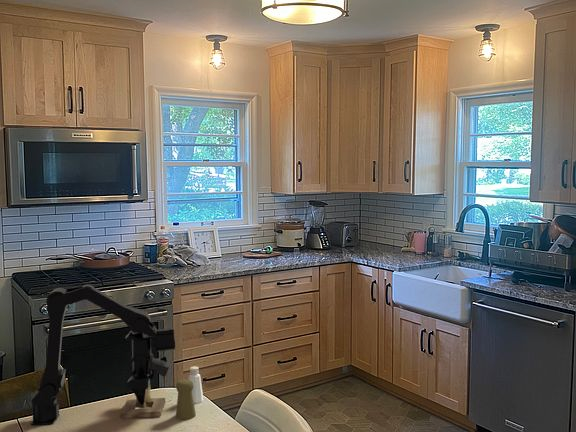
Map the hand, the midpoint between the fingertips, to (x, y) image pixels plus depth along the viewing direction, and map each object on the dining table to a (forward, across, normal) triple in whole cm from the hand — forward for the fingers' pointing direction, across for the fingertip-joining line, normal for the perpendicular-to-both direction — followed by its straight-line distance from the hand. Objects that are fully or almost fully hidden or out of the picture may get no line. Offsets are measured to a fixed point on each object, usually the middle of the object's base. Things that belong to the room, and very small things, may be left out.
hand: (143, 401), depth 180 cm
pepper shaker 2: (+3, +6, -16) cm, 17 cm away
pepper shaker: (+3, -6, -14) cm, 15 cm away
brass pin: (+1, 0, 0) cm, 1 cm away
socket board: (+3, 0, 0) cm, 3 cm away
